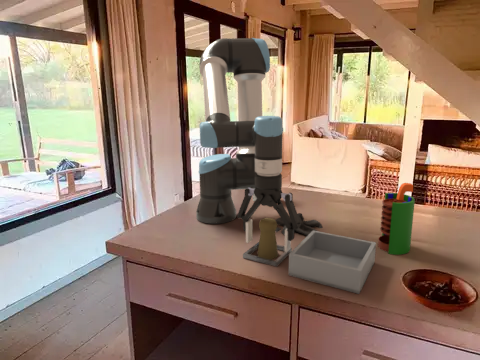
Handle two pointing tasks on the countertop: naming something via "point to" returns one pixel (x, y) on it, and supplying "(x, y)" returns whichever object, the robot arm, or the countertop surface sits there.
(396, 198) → the motor
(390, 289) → the countertop surface
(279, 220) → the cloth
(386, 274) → the countertop surface
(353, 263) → the bin
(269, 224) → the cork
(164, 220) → the countertop surface
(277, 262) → the collar
